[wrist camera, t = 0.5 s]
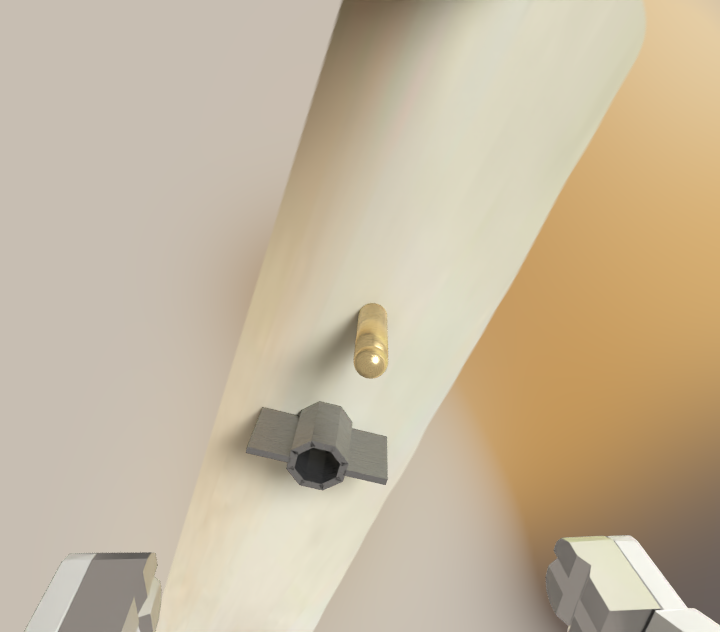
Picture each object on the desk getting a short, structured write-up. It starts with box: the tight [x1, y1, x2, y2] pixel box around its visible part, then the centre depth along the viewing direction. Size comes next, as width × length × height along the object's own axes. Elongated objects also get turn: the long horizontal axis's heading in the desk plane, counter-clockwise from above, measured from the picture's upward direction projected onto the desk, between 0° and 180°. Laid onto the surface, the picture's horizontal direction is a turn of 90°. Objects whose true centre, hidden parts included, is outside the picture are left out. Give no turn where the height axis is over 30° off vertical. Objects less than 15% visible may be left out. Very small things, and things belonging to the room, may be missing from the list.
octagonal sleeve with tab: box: [246, 401, 388, 490], centre depth 53 cm, size 6×15×7 cm, turn 75°
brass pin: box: [354, 303, 388, 379], centre depth 45 cm, size 3×3×11 cm
